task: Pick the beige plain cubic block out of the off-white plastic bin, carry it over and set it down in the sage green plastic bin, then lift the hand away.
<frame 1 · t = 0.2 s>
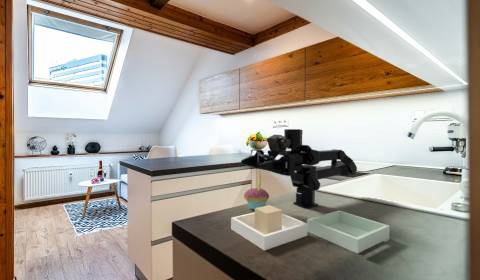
hand: (250, 163, 74), 17 cm above the worktop, tool horizontal, fingers open, 9 cm apart
cupcake: (256, 209, 84), on the worktop
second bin: (346, 236, 62), on the worktop
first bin: (268, 234, 63), on the worktop
beige plain cubic block: (268, 231, 63), point 1 cm above the worktop, touching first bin
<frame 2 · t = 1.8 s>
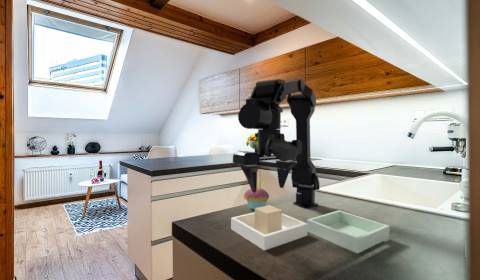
hand: (268, 189, 63), 12 cm above the worktop, tool pointing down, fingers open, 9 cm apart
nothing on the worktop moved.
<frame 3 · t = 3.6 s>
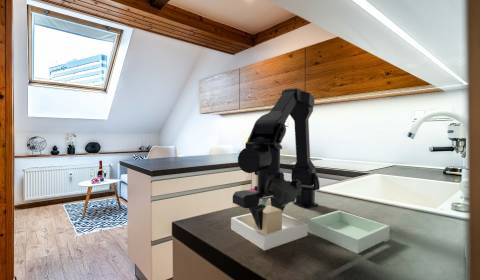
hand: (268, 227, 63), 2 cm above the worktop, tool pointing down, fingers closed on beige plain cubic block, 5 cm apart
beige plain cubic block: (268, 231, 63), point 1 cm above the worktop, touching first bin, gripper
everything else where it was.
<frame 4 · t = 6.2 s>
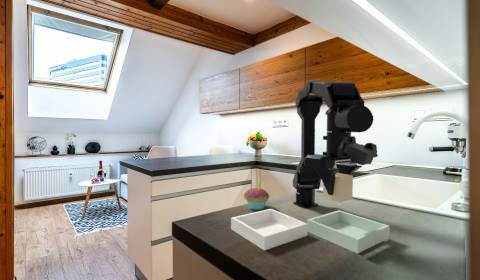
hand: (337, 193, 62), 11 cm above the worktop, tool pointing down, fingers closed on beige plain cubic block, 5 cm apart
beige plain cubic block: (337, 198, 62), point 10 cm above the worktop, touching gripper
everything else where it was.
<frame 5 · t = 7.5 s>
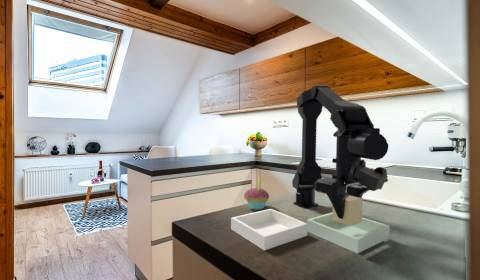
hand: (346, 216, 62), 5 cm above the worktop, tool pointing down, fingers closed on beige plain cubic block, 5 cm apart
beige plain cubic block: (347, 220, 62), point 4 cm above the worktop, touching gripper
everything else where it was.
when the fingers open (3 cm above the worktop, at t = 8.7 s): beige plain cubic block drops 1 cm, resting on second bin.
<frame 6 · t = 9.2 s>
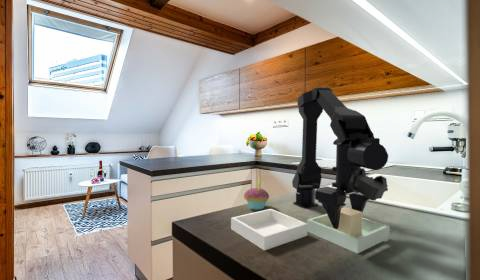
hand: (346, 224, 62), 3 cm above the worktop, tool pointing down, fingers open, 9 cm apart
beige plain cubic block: (346, 234, 62), point 1 cm above the worktop, touching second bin
everything else where it was.
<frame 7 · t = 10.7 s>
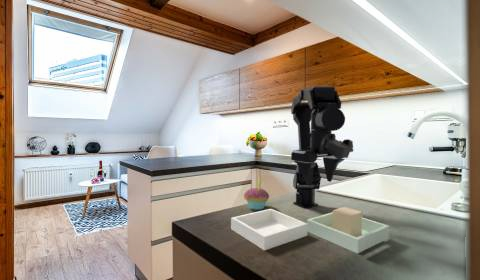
hand: (319, 183, 71), 12 cm above the worktop, tool pointing down, fingers open, 9 cm apart
nothing on the worktop moved.
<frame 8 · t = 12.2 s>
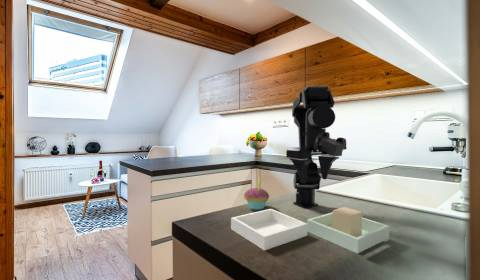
hand: (314, 180, 73), 12 cm above the worktop, tool pointing down, fingers open, 9 cm apart
nothing on the worktop moved.
at the end: beige plain cubic block inside the target area on the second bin (0.0 cm from its centre), point 0.6 cm above the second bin's base; the gripper is holding nothing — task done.
